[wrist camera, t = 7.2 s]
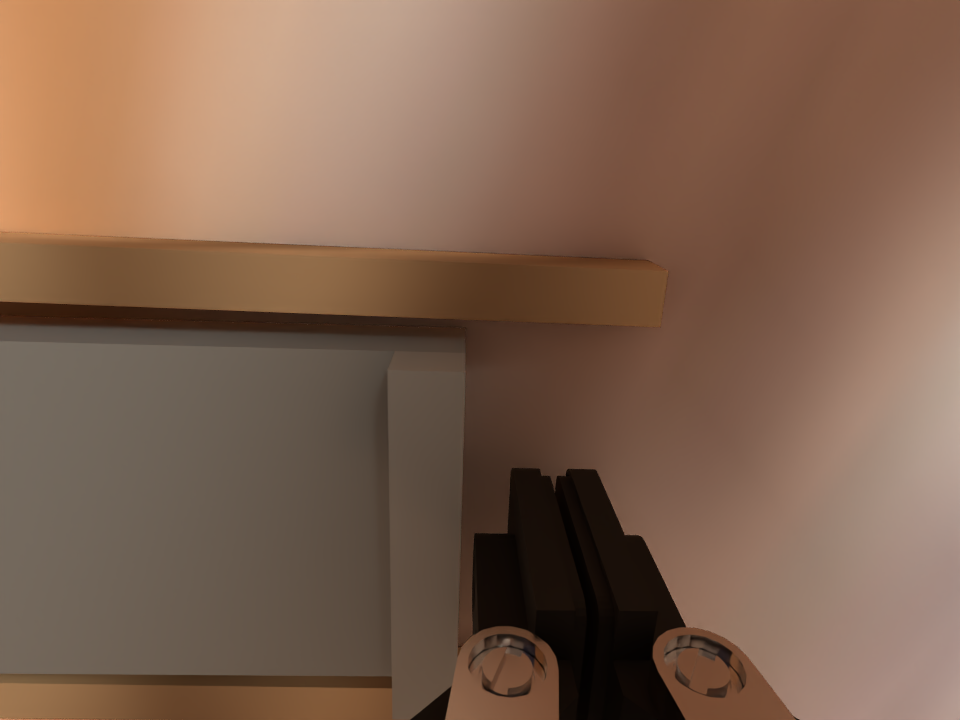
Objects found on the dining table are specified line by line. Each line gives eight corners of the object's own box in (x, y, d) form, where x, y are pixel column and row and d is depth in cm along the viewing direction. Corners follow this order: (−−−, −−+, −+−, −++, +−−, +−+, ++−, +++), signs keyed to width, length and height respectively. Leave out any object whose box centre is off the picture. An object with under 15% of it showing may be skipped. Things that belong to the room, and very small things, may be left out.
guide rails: (648, 260, 11) (668, 271, 10) (590, 681, 15) (601, 725, 13) (-315, 218, 11) (-408, 225, 9) (-148, 670, 14) (-202, 716, 13)
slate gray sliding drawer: (465, 319, 12) (465, 371, 9) (457, 596, 14) (455, 719, 11) (-335, 296, 12) (-636, 344, 9) (-221, 589, 14) (-428, 715, 11)
